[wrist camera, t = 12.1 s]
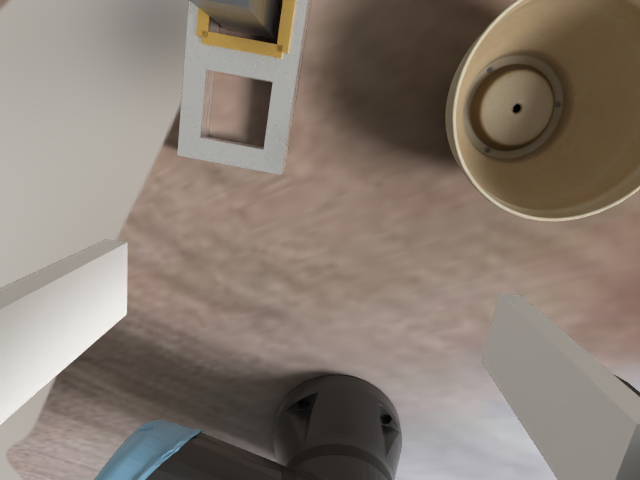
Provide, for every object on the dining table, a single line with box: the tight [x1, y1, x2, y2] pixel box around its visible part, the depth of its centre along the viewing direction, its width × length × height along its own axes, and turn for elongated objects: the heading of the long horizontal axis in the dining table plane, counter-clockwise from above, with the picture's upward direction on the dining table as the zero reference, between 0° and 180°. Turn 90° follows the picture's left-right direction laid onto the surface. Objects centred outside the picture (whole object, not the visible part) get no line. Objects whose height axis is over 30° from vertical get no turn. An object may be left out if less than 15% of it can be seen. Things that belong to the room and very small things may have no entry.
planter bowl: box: [445, 0, 640, 221], centre depth 33 cm, size 16×16×11 cm
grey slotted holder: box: [177, 0, 311, 175], centre depth 37 cm, size 19×10×3 cm, turn 170°
